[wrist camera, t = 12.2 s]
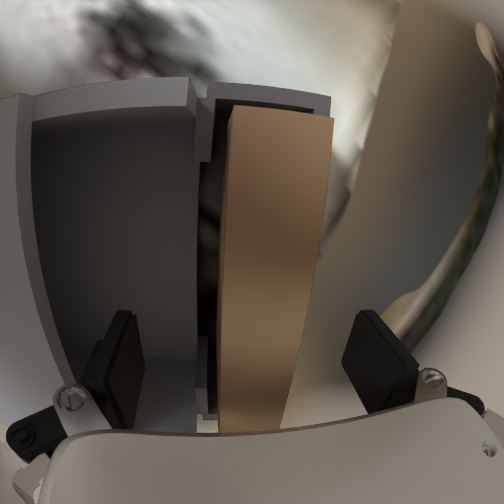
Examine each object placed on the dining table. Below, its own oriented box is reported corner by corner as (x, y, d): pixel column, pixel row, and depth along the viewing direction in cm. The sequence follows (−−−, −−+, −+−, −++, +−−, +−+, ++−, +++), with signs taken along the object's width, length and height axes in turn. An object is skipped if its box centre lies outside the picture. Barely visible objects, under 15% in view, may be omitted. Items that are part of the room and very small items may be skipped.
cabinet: (13, 122, 14) (-87, 128, 4) (298, 110, 17) (386, 77, 7) (47, 350, 22) (3, 428, 12) (267, 368, 25) (291, 470, 15)
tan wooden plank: (225, 129, 18) (234, 105, 7) (287, 135, 18) (368, 125, 8) (215, 353, 24) (220, 463, 14) (263, 353, 24) (288, 459, 14)
